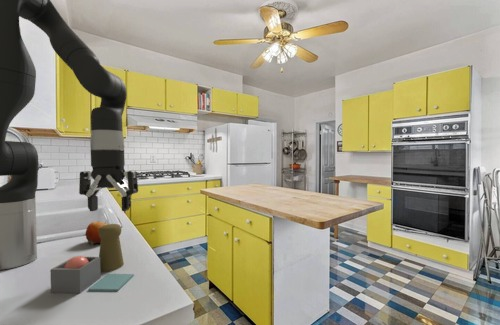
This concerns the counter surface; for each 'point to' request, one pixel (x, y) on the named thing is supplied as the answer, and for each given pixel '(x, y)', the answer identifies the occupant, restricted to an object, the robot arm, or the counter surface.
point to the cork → (110, 248)
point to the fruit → (94, 232)
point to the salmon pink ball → (76, 262)
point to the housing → (75, 277)
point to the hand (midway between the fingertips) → (109, 210)
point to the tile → (111, 282)
